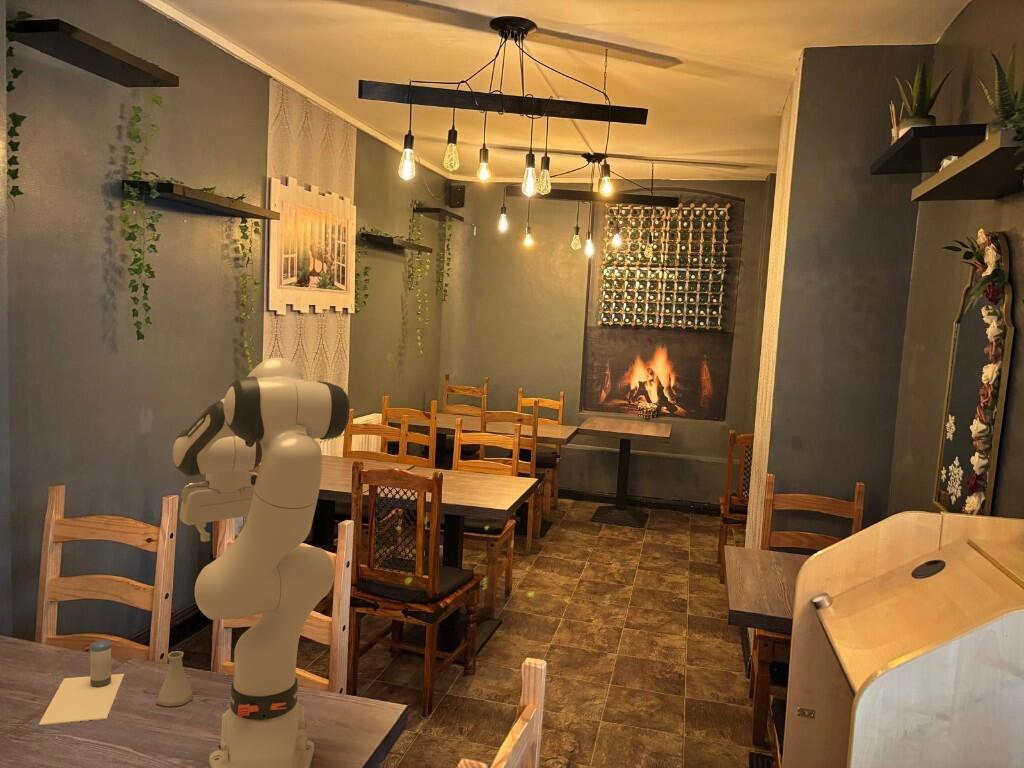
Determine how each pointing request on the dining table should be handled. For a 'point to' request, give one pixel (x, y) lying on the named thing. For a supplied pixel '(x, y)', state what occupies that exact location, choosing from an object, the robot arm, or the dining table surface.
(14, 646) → the dining table surface
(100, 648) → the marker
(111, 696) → the paper
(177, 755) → the dining table surface
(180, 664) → the flask
